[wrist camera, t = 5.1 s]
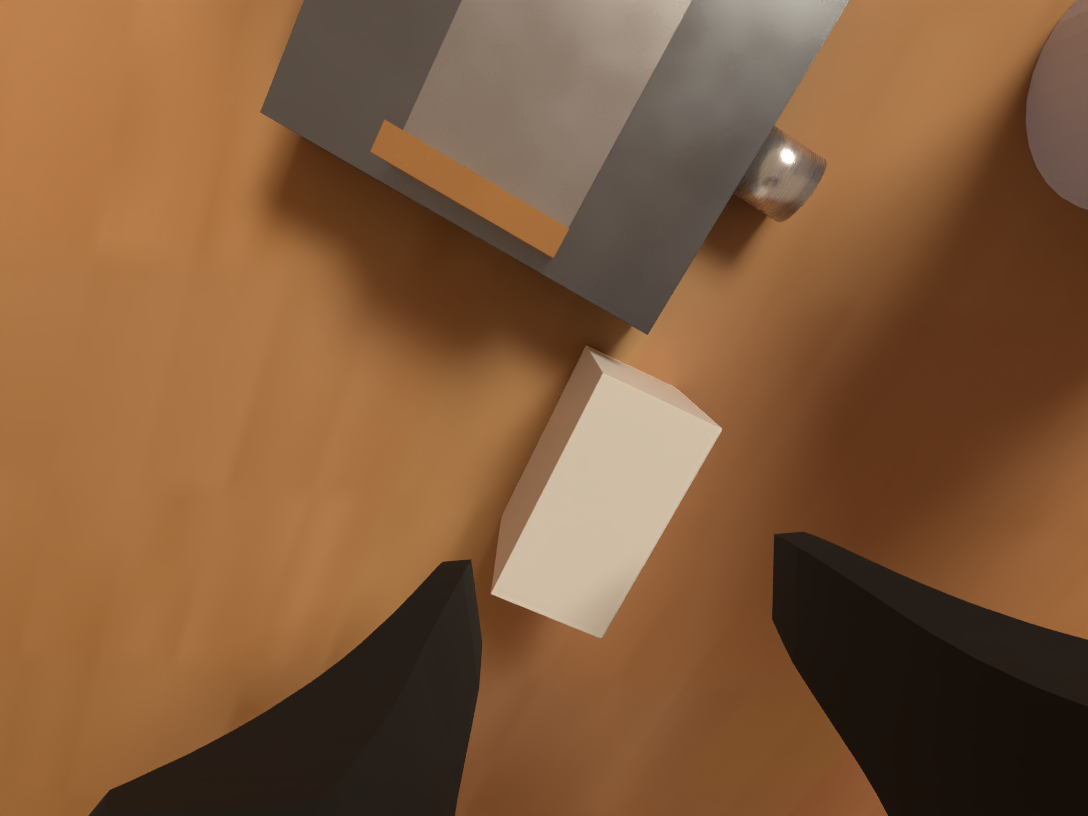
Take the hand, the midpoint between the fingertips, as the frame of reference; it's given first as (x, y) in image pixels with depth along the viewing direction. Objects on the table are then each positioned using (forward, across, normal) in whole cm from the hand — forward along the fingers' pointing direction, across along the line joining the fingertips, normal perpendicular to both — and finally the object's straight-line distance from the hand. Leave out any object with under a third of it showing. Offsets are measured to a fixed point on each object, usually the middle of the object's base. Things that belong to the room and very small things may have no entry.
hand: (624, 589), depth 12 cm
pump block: (+8, 0, 0) cm, 9 cm away
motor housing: (+8, 0, -13) cm, 15 cm away
